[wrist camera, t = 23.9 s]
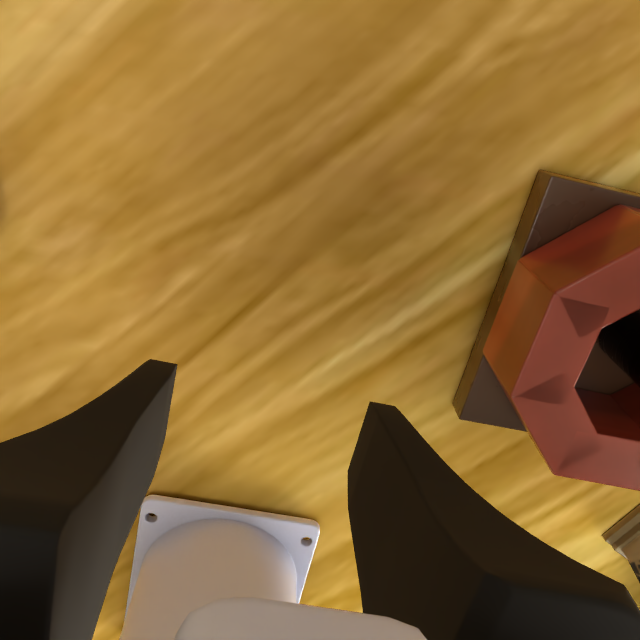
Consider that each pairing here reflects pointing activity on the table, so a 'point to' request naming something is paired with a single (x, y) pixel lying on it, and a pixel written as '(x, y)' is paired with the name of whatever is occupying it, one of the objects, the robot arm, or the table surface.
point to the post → (533, 232)
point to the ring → (572, 348)
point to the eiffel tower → (627, 539)
